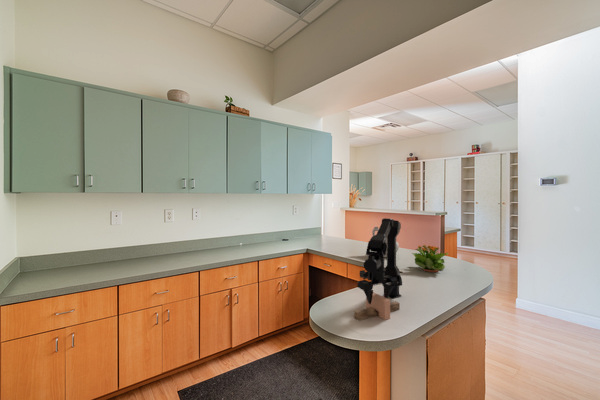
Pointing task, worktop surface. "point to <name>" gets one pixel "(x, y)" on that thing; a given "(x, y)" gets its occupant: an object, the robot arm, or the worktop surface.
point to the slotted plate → (380, 305)
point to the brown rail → (374, 311)
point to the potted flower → (429, 259)
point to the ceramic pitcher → (386, 239)
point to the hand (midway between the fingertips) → (377, 301)
